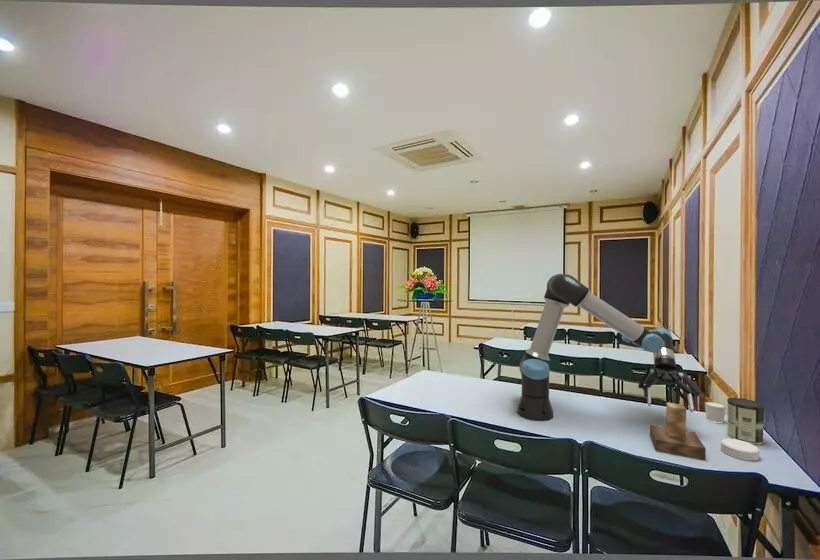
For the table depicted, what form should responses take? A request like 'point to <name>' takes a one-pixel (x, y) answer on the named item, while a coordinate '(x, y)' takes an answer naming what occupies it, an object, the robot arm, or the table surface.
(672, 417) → the oak block
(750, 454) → the coaster
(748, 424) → the coffee can
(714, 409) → the white tapered cup
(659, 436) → the walnut block
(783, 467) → the table surface
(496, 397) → the table surface
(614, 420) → the table surface
